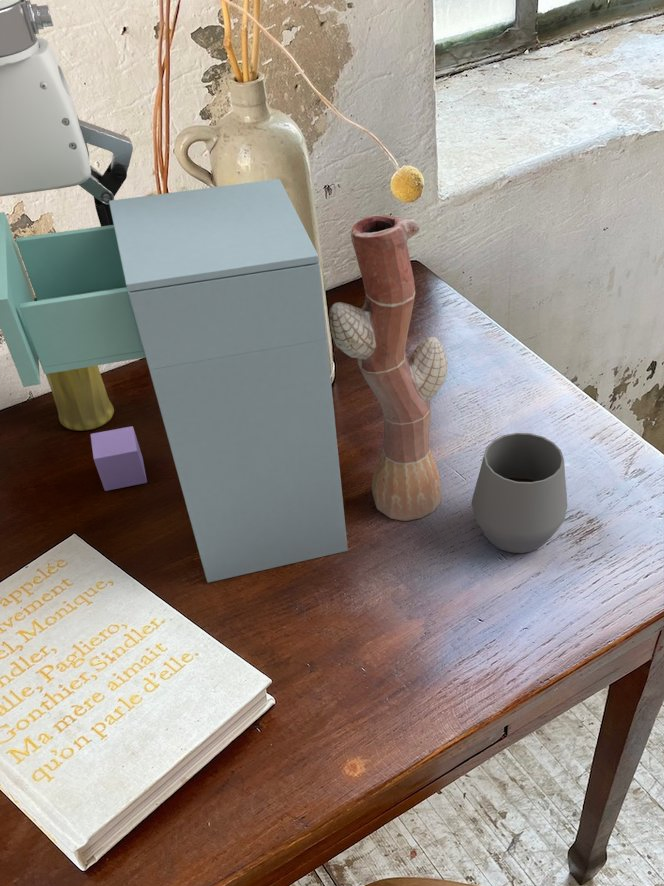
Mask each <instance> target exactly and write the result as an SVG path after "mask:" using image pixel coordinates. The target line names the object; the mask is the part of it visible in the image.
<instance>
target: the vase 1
mask: <svg viewBox="0 0 664 886" xmlns="http://www.w3.org/2000/svg"><path fill="white" fill-rule="evenodd" d="M34 301H37V299H36V296H35V294H34ZM101 374H102V373H101V372H100V368H99V365H97V366H91V367H85V368H79V369H73V370H67V371H61V372H55V373H49V374H45V376H46V379H47V382H48V386H49V387H50V391H51V394H52V396H53V400H54V403H55V407H56V409H57V410H56V411H57V414H58V420H59V423H60V424H61V425H62V426H63V427H64V428H65V429H68V430H71V431H76V432H86V431H92V430H95V429H98V428H101V427H102V426H104V425H106V424H108V423H109V422H110V421H111V420H112V418H113V416H114V414H115V409H114V408H115V407H114V405H113V403H112V402H111V400H110V398H109V396H108V392H107V390H106V386H105V383H104V381H103V377H102V375H101Z"/></svg>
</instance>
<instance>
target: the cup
mask: <svg viewBox="0 0 664 886" xmlns="http://www.w3.org/2000/svg"><path fill="white" fill-rule="evenodd" d="M566 479H567V478H566V469H565V458H564V455H563V452H562V449H560V447H559V446H558V445H557V444H556V443H555V442H553V441H552V440H550V439H548V438H547V437H545V436H542V435H538V434H535V433H531V432H513V433H509V434H504V435H501V436H499V437H498V438H495V439H493V440H492V441H491V442H490V443H489V444H488V445H487V446H486V447H485V451H484V454H483V457H482V460H481V464H480V468H479V473H478V476H477V480H476V483H475V488H474V491H473V495H472V498H471V509H472V513H473V517H474V518H473V519H474V520H475V522H476V523H477V525H478V527H479V528H480V530H481V531H482V532H483V534H484V536H485V537H486V538H487V539H488V540H489V543H491V544H492V545H493V546H494V547H496V548H498V549H499V550H500V551H501V550H502V551H505V552H507V553H508V552H509V553H510V554H511V553H513V554H514V553H515V554H525V553H529V552H534V551H536V550H537V549H539V548H541V547H542V546H544V545H545V544H546V543H547V542H548V541H549V540H550V538H552V536H554V535H555V534H556V532H557V531H558V530H559V529H560V527H562V525H563V524H564V522H565V520H566V515H567V510H568V495H567V481H566Z"/></svg>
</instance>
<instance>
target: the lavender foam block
mask: <svg viewBox="0 0 664 886" xmlns="http://www.w3.org/2000/svg"><path fill="white" fill-rule="evenodd" d="M90 443H91V449H92V457H93V460H94V464H95V467H96V470H97V473H98V475H99V478H100V481H101V484H102V487H103V489H104V491H105V492H108V491H112V490H118V489H122V488H123V489H124V488H127V487H132V486H138V485H142V484H147V483H148V480H147V474H146V468H145V464H144V458H143V454H142V452H141V451H142V450H141V448H140V445H139V442H138V439H137V435H136V432H135V429H134V426H131V425H130V426H126V427H121V428H120V427H119V428H116V429H115V428H114V429H110V430H104V431H98V432H93V433H90Z"/></svg>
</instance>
